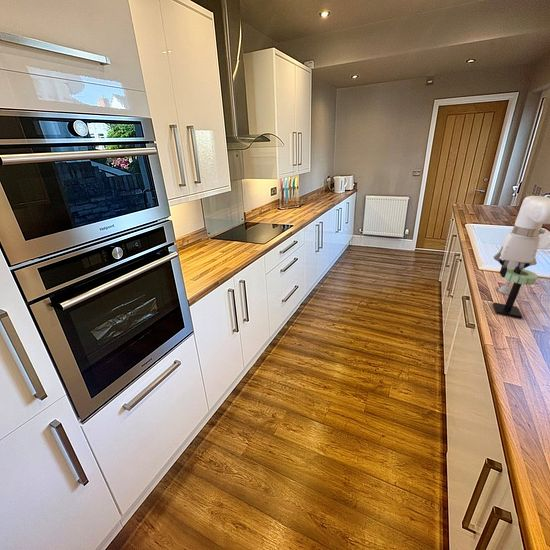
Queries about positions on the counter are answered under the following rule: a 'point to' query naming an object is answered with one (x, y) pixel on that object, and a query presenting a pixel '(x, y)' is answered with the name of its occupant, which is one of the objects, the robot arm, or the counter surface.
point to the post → (509, 303)
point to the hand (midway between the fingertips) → (508, 276)
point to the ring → (521, 276)
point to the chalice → (506, 288)
